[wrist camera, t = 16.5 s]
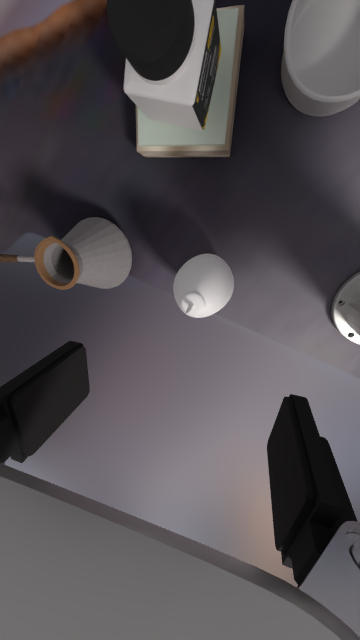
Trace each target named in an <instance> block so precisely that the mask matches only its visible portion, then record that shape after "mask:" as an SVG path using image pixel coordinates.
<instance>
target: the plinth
mask: <svg viewBox="0 0 360 640" xmlns="http://www.w3.org/2000/svg"><path fill="white" fill-rule="evenodd" d="M217 17H218V26H219V34H220V42H221V55H220V59H219V64H218V69H217V73H216V78H215V83H214V87H213V92H212V97H211V101H210V106H209V111H208V115H207V120H206V125H205V128H204V130H202V131H201V130H196V129H191V128H186V127H181V126H177V125H172V124H167V123H162V122H157V121H152V120H150V119H149V118H148V117H147V116H146V115H145V114H144V113H143V112H142V111H141V110H140V109H139V107H138V106H137V105H136V139H137V152H138V153H140V154H142V155H143V156H145V157H230V150H231V141H232V132H233V123H234V114H235V105H236V96H237V87H238V78H239V69H240V60H241V52H242V43H243V34H244V5H239V6H231V7H224V8H217Z"/></svg>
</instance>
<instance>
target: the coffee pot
mask: <svg viewBox="0 0 360 640" xmlns="http://www.w3.org/2000/svg"><path fill="white" fill-rule="evenodd" d="M19 261H21V262H35V265H36V268H37V271H38V272H39V274H40V276H41V277H42V279H43V280H44V281H45V282H46V283H47V284H49V285H50V286H52V287H54V288H57V289H69V288H71V287H73V286H74V285H75V284H76V283H80V284H85V285H88V286H93V287H97V288H102V289H107V288H108V289H109V288H113V287H116V286H118V285H119V284H121V283H122V282H123V281H124V280H125V279H126V277H127V276H128V275H129V272H130V269H131V265H132V252H131V247H130V245H129V242H128V240H127V238H126V237H125V235H124V234H123V232H122V231H121V230H120V229H119V228H118V227H117V226H116V225H115V224H113V223H112V222H110V221H108V220H106V219H103V218H99V217H91V218H86V219H84V220H82V221H80V222H79V223H78V224H77V225H76V226H75V227H74V228H73V229H72V230H71V231H70V232H69V233H68V234H67V235H66V236H65V237H64V238H63V239H62V240H60V239H58V238H56V237H54V236H50V237H48V238H46V239H44V240H43V241H41V242H40V243H39V244H38V246H37V247H36V250H35V254H34V256H18V255H6V254H0V262H19Z"/></svg>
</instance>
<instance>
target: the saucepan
mask: <svg viewBox="0 0 360 640" xmlns="http://www.w3.org/2000/svg"><path fill="white" fill-rule="evenodd" d="M281 78H282V85H283V88H284V92H285V95H286V96H287V98H288V100H289V102H290V103H291V104H292V105H293V106H294V107H295V108H296V109H297V110H298V111H300V112H302V113H303V114H306V115H310V116H317V117H323V116H329V115H333V114H336V113H338V112H341V111H343V110H345V109H347V108H348V107H350V106H351V105H353V104H355V103H356V102H357V101H358V100H359V99H360V0H292V3H291V6H290V9H289V12H288V17H287V21H286V26H285V35H284V52H283V56H282V64H281Z"/></svg>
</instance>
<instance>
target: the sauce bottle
mask: <svg viewBox="0 0 360 640" xmlns="http://www.w3.org/2000/svg"><path fill="white" fill-rule="evenodd" d="M233 289H234V278H233V274H232V271H231V269H230V267H229V266H228V265H227V263H226V262H225V261H224V260H223V259H222V258H220V257H219V256H217V255H214V254H201V255H198V256H195V257H193V258H191V259H190V260H188V261H187V262H186V263H185V264H184V265H183V266H182V267H181V268H180V269H179V271H178V273H177V275H176V277H175V280H174V287H173V291H174V297H175V300H176V302H177V304H178V306H179V307H180V309H181V310H182V311H183V312H184V313H185V314H187V315H189V316H191V317H195V318H202V317H207V316H210V315H212V314H214V313H216V312H218V311H219V310H220V309H222V308H223V307H224V306H225V305H226V304H227V302H228V301H229V299H230V298H231V295H232V293H233Z"/></svg>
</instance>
